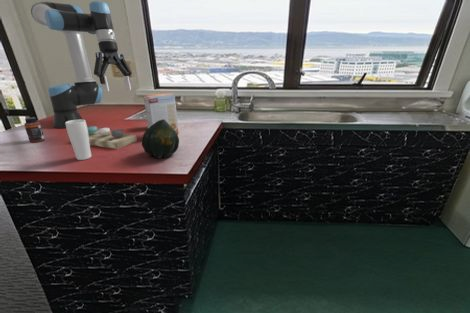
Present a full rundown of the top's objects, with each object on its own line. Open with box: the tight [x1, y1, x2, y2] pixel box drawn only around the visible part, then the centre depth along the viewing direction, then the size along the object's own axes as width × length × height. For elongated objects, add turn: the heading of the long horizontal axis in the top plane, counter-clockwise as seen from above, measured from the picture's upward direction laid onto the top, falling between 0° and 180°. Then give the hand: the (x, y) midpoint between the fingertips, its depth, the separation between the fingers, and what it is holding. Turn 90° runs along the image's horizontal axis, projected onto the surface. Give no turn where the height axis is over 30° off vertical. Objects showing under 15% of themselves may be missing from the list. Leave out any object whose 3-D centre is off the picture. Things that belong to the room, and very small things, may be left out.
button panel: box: [88, 131, 138, 150], centre depth 118 cm, size 26×12×3 cm, turn 69°
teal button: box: [87, 125, 99, 133], centre depth 119 cm, size 5×5×2 cm
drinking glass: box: [65, 118, 92, 161], centre depth 97 cm, size 7×7×15 cm
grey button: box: [110, 128, 125, 137], centre depth 114 cm, size 5×5×2 cm
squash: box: [141, 119, 180, 159], centre depth 101 cm, size 14×15×15 cm
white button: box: [97, 127, 111, 135], centre depth 117 cm, size 5×5×2 cm
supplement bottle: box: [23, 116, 46, 143], centre depth 117 cm, size 6×6×11 cm
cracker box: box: [143, 92, 179, 135], centre depth 124 cm, size 14×6×21 cm, turn 134°
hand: (118, 90), depth 116 cm, fingers open, 13 cm apart
